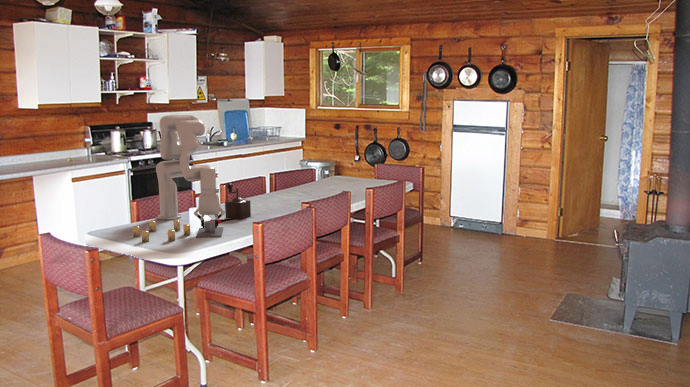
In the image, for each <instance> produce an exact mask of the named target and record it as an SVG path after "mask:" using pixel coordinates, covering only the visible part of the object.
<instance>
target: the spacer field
mask: <svg viewBox="0 0 690 387" xmlns="http://www.w3.org/2000/svg"><path fill="white" fill-rule="evenodd" d="M172 223H173V229H168V230H167V241H168V242H176V232H180V231H181V220H180V219H173V222H172ZM148 227H149V230H141V229H140V228H141V227H140V225H133V226H132V236H133V238H139V237H141V242H142V243H148V242H150V236H149V235H150V232H151V233H155V232H157V224H156V220H149V221H148ZM182 227H183V229H182V230H183V236H191V224H190V223H187V224H186V223H185V224H183V225H182ZM140 231H141V232H140ZM140 233H141V234H140Z"/></svg>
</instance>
